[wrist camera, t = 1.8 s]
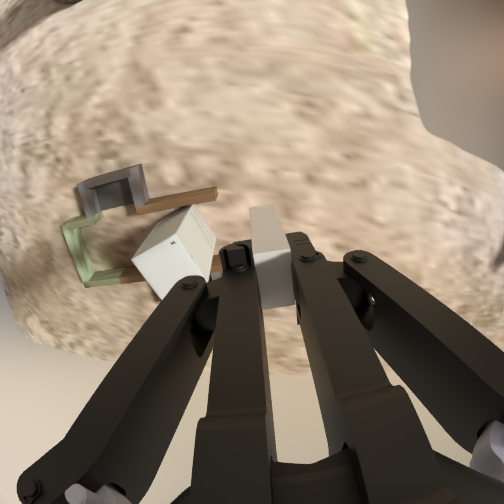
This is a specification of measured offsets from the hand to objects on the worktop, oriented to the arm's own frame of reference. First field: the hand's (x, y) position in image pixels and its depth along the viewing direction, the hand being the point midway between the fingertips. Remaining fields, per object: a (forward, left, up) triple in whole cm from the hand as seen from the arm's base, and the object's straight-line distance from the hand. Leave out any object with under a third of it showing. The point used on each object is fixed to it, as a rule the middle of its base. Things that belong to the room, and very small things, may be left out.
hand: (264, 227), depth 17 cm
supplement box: (+8, -12, -25) cm, 29 cm away
